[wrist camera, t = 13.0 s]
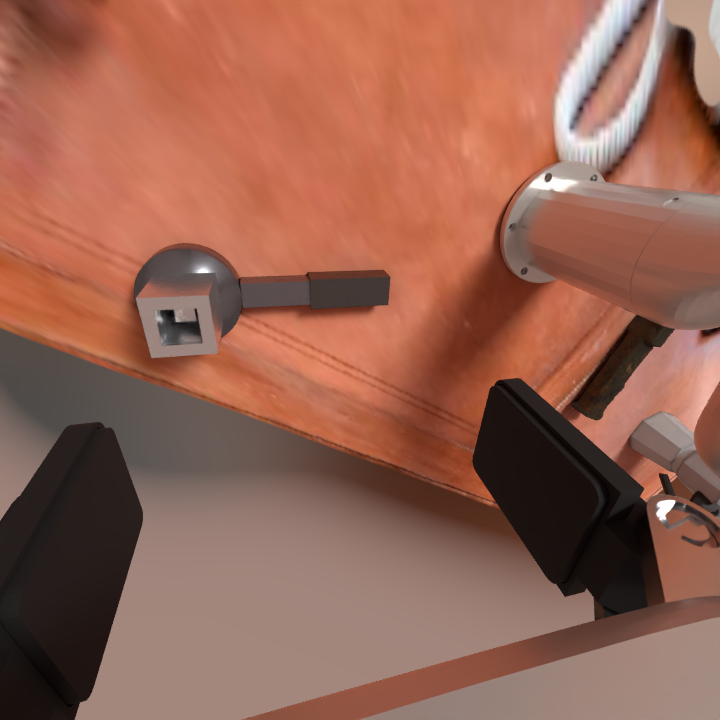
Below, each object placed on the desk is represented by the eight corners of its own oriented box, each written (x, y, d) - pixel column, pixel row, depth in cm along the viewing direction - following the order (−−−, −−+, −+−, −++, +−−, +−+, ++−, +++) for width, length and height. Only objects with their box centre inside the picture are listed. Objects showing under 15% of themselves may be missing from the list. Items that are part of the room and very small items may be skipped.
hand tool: (583, 408, 59) (606, 427, 55) (566, 403, 57) (589, 422, 53) (667, 299, 52) (701, 311, 48) (650, 289, 50) (684, 302, 46)
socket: (215, 272, 34) (208, 295, 29) (223, 324, 36) (217, 353, 31) (154, 274, 33) (135, 298, 27) (166, 327, 35) (151, 358, 30)
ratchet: (385, 240, 38) (403, 254, 34) (379, 322, 43) (394, 343, 38) (130, 243, 33) (109, 260, 29) (153, 336, 38) (139, 363, 33)
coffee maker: (685, 397, 63) (821, 477, 48) (681, 431, 68) (803, 513, 53) (606, 436, 64) (715, 528, 48) (607, 468, 68) (708, 560, 53)
